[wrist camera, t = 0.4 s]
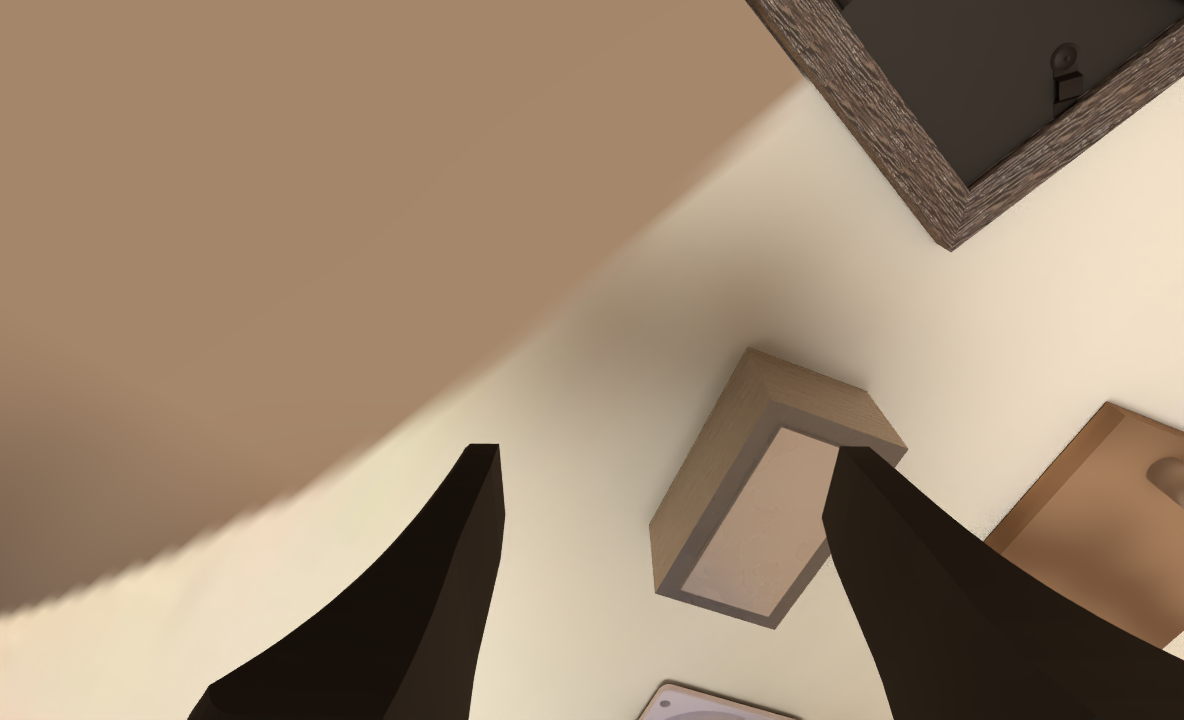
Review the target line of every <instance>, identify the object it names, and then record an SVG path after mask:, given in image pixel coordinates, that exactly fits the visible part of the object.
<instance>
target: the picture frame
mask: <svg viewBox="0 0 1184 720" xmlns="http://www.w3.org/2000/svg"><path fill="white" fill-rule="evenodd" d="M745 1H746V2H747V4H748V5H749V6H750V8H751V9H752V10H753V11H754V13H755V14H756V15H757V17H758V18H759V19H760V20H761V22H762V23H763V24H764V26H765V27H766V28H767V29H768V31H769V32H770V33H771V35H772V36H773V37H774V39H775V40H776V41H777V42H778V44H779V45H780V46H781V48H782V49H783V50H784V51H785V53H786V54H787V55H788V57H789V58H790V59H791V61H792V62H793V63H794V64H795V66H796V67H797V68H798V70H799V71H800V72H801V73H802V75H803V76H804V77H805V79H806V80H808V79H810V80H811V81H812V83H813V84H814V85H815V87H816V88H817V89H818V91H819V92H820V93H821V94H822V96H823V97H824V98H825V100H826V101H827V102H828V103H829V105H830V106H831V107H832V109H833V110H834V111H835V113H836V114H837V115H838V116H839V118H840V119H841V120H842V122H843V123H844V124H845V125H846V127H847V128H848V129H849V131H850V132H851V133H852V135H853V136H854V137H855V138H856V140H857V141H858V142H859V144H860V145H861V146H862V148H863V149H864V150H865V151H866V153H867V154H868V155H869V157H870V158H871V159H872V160H873V162H874V163H875V164H876V166H877V167H878V168H879V170H880V171H881V172H882V173H883V175H884V176H885V177H886V179H887V180H888V181H889V182H890V184H891V185H892V186H893V188H894V189H895V190H896V192H897V193H898V194H899V195H900V197H901V198H902V199H903V201H904V202H905V203H906V204H907V206H908V207H909V208H910V210H911V211H912V212H913V214H914V215H915V216H916V217H917V219H918V220H919V221H920V223H921V224H922V225H923V226H924V228H925V229H926V230H927V232H928V233H929V234H930V236H931V237H932V238H933V239H934V241H935V242H936V243H937V244H939V245H940V246H942V247H943V248H945V249H947V250H948V251H950V252H952V251H954V250H955V249H956V248H957V247H959V246H960V245H961V244H963V243H964V242H965V241H967V240H968V239H969V238H971V237H972V236H973V235H975V234H976V233H977V232H979V231H980V230H981V229H983V228H984V227H985V226H986V225H988V224H989V223H990V222H992V221H993V220H994V219H996V218H997V217H998V216H1000V215H1001V214H1002V213H1004V212H1005V211H1006V210H1008V209H1009V208H1010V207H1012V206H1013V205H1014V204H1016V203H1017V202H1018V201H1019V200H1021V199H1022V198H1023V197H1025V196H1026V195H1027V194H1029V193H1030V192H1031V191H1033V190H1034V189H1035V188H1037V187H1038V186H1039V185H1041V184H1042V183H1043V182H1045V181H1046V180H1047V179H1048V178H1050V177H1051V176H1052V175H1054V174H1055V173H1056V172H1058V171H1059V170H1060V169H1062V168H1063V167H1064V166H1066V165H1067V164H1068V163H1070V162H1071V161H1072V160H1074V159H1075V158H1076V157H1078V156H1079V155H1080V154H1081V153H1083V152H1084V151H1085V150H1087V149H1088V148H1089V147H1091V146H1092V145H1093V144H1095V143H1096V142H1097V141H1099V140H1100V139H1101V138H1103V137H1104V136H1105V135H1107V134H1108V133H1109V132H1110V131H1112V130H1113V129H1114V128H1116V127H1117V126H1118V125H1120V124H1121V123H1122V122H1124V121H1125V120H1126V119H1128V118H1129V117H1130V116H1132V115H1133V114H1134V113H1136V112H1137V111H1138V110H1140V109H1141V108H1142V107H1143V106H1145V105H1146V104H1147V103H1149V102H1150V101H1151V100H1153V99H1154V98H1155V97H1157V96H1158V95H1159V94H1161V93H1162V92H1163V91H1165V90H1166V89H1167V88H1169V87H1170V86H1171V85H1172V84H1174V83H1175V82H1176V81H1178V80H1179V79H1180V78H1182V77H1183V76H1184V0H745Z"/></svg>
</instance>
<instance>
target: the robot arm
mask: <svg viewBox="0 0 1184 720" xmlns="http://www.w3.org/2000/svg"><path fill="white" fill-rule="evenodd" d="M822 521H823V525H824V529H825V533H826V537H827V541H828V545H829V548H830V552H831V555H832V559H833V562H834V565H835V567H836V570H837V572H838V575H839V577H840V579H841V582H842V584H843V587H844V589H845V592H846V594H847V596H848V599H849V601H850V603H851V606H852V608H853V611H854V613H855V615H856V618H857V620H858V622H859V625H860V627H861V630H862V632H863V634H864V637H865V639H866V641H867V644H868V646H869V649H870V651H871V653H872V656H873V658H874V661H875V663H876V666H877V669H878V671H879V674H880V677H881V679H882V682H883V686H884V689H885V692H886V695H887V699H888V702H889V705H890V709H891V712H892V715H893V718H894V720H1184V660H1182V659H1180V658H1178V657H1176V656H1174V655H1171V654H1169V653H1168V652H1166V651H1164V650H1162V649H1160V648H1158V647H1156V646H1154V645H1152V644H1150V643H1148V642H1146V641H1144V640H1142V639H1140V638H1138V637H1136V636H1134V635H1132V634H1130V633H1128V632H1126V631H1124V630H1122V629H1120V628H1119V627H1117V626H1115V625H1113V624H1111V623H1109V622H1107V621H1106V620H1104V619H1102V618H1100V617H1098V616H1097V615H1095V614H1093V613H1092V612H1090V611H1088V610H1086V609H1085V608H1083V607H1081V606H1079V605H1078V604H1076V603H1074V602H1073V601H1071V600H1069V599H1067V598H1066V597H1064V596H1062V595H1061V594H1059V593H1058V592H1056V591H1054V590H1053V589H1051V588H1049V587H1048V586H1046V585H1045V584H1043V583H1042V582H1040V581H1039V580H1037V579H1036V578H1034V577H1033V576H1031V575H1030V574H1028V573H1027V572H1025V571H1024V570H1022V569H1021V568H1019V567H1018V566H1016V565H1015V564H1013V563H1012V562H1010V561H1009V560H1007V559H1006V558H1004V557H1003V556H1002V555H1000V554H999V553H997V552H996V551H995V550H993V549H992V548H991V547H989V546H988V545H987V544H985V543H984V542H983V541H981V540H980V539H979V538H978V537H976V536H975V535H974V534H972V533H971V532H970V531H968V530H967V529H966V528H964V527H963V526H962V525H961V524H959V523H958V522H957V521H956V520H954V519H953V518H952V517H951V516H950V515H948V514H947V513H946V512H945V511H943V510H942V509H941V508H940V507H939V506H938V505H936V504H935V503H934V502H933V501H932V500H930V499H929V498H928V497H927V496H926V495H925V494H923V493H922V492H921V491H920V490H919V489H918V488H916V487H915V486H914V485H913V484H912V483H911V482H910V481H908V480H907V479H906V478H905V477H904V476H903V475H902V474H900V473H899V472H898V471H897V470H896V469H895V468H894V467H892V466H891V465H890V464H889V463H888V462H887V461H886V460H884V459H883V458H882V457H881V456H880V455H879V454H877V453H876V452H875V451H874V450H873V449H871V448H870V447H869V446H840V448H839V451H838V455H837V459H836V463H835V467H834V471H833V475H832V479H831V482H830V486H829V490H828V494H827V498H826V502H825V506H824V509H823V513H822ZM504 523H505V506H504V494H503V483H502V472H501V461H500V449H499V444H469V445H468V446H467V447H466V448H465V450H464V451H463V453H462V454H461V456H460V457H459V459H458V460H457V462H456V463H455V465H454V466H453V468H452V469H451V471H450V472H449V474H448V475H447V476H446V478H445V479H444V481H443V482H442V483H441V485H440V486H439V488H438V489H437V490H436V491H435V493H434V494H433V495H432V497H431V498H430V499H429V500H428V502H427V503H426V504H425V506H424V507H423V508H422V510H421V511H420V512H419V513H418V514H417V516H416V517H415V518H414V519H413V520H412V522H411V523H410V524H409V525H408V526H407V527H406V528H405V530H404V531H403V532H402V533H401V534H400V535H399V536H398V538H397V539H396V540H395V541H394V542H393V543H392V544H391V545H390V546H389V547H388V549H387V550H386V551H385V552H384V553H383V554H382V555H381V556H380V557H379V558H378V559H377V560H376V561H375V562H374V563H373V564H372V565H371V566H370V567H369V568H368V569H367V570H366V571H365V572H364V573H363V574H362V575H360V576H359V577H358V578H357V579H356V580H355V581H354V582H353V583H352V584H350V585H349V586H348V587H347V588H346V589H345V590H344V591H343V592H341V593H340V594H339V595H338V596H337V597H336V598H335V599H333V600H332V601H331V602H330V603H329V604H327V605H326V606H325V607H324V608H323V609H321V610H320V611H319V612H318V613H316V614H315V615H314V616H312V617H311V618H310V619H308V620H307V621H306V622H304V623H303V624H302V625H300V626H299V627H298V628H296V629H295V630H294V631H292V632H291V633H290V634H288V635H287V636H286V637H284V638H283V639H281V640H280V641H279V642H277V643H276V644H274V645H273V646H271V647H270V648H268V649H267V650H265V651H264V652H262V653H261V654H259V655H258V656H256V657H254V658H253V659H251V660H250V661H248V662H246V663H245V664H243V665H242V666H240V667H238V668H237V669H235V670H234V671H232V672H230V673H229V674H227V675H226V676H224V677H222V678H221V679H219V680H217V681H216V682H214V683H212V684H211V685H209V686H208V688H207V690H206V691H205V693H204V694H203V696H202V697H201V699H200V700H199V702H198V703H197V705H196V706H195V707H194V709H193V710H192V712H191V714H190V715H189V717H188V719H187V720H468V719H469V711H470V704H471V696H472V689H473V681H474V675H475V670H476V664H477V659H478V654H479V650H480V646H481V641H482V637H483V633H484V628H485V624H486V620H487V616H488V611H489V607H490V603H491V598H492V594H493V590H494V585H495V581H496V577H497V572H498V568H499V563H500V559H501V550H502V541H503V532H504ZM639 720H796V719H792V718H789V717H785V716H781V715H778V714H774V713H771V712H767V711H764V710H760V709H757V708H753V707H750V706H746V705H743V704H739V703H736V702H732V701H729V700H725V699H722V698H718V697H715V696H711V695H708V694H704V693H700V692H697V691H693V690H690V689H686V688H683V687H679V686H676V685H672V684H666V685H663V686H662V687H661V688H659V690H658V691H657V693H656V694H655V696H654V697H653V699H652V700H651V702H650V703H649V705H648V706H647V708H646V709H645V711H644V712H643V714H642V715H641V717H640V718H639Z"/></svg>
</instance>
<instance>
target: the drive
mask: <svg viewBox="0 0 1184 720" xmlns="http://www.w3.org/2000/svg"><path fill="white" fill-rule="evenodd" d="M840 446H869V447H870V448H871V449H873V450H874V451H875V452H876V453H877V454H879V455H880V456H881V457H882V458H883V459H884V460H886V461H887V462H888V463H889V464H890V465H891V466H892V467H894V468H895V467H896V465H897V464H898V462H899V461H900V460H901V458H902V457H903V456H904V454H905V453H906V452H907V450H908V448H907V446H906V445H905V443H904V442H903V441H902V439H901V438H900V437H899V435H898V434H897V432H896V431H895V430H894V428H893V427H892V426H891V424H890V423H889V421H888V420H887V419H886V417H885V416H884V415H883V413H882V412H881V410H880V409H879V408H878V406H877V405H876V404H875V402H874V401H873V399H872V398H871V397H870V395H869V394H868V393H867V391H864V390H862V389H859V388H856V387H854V386H851V385H848V384H845V383H843V382H840V381H837V380H835V379H832V378H829V377H827V376H824V375H821V374H819V373H816V372H813V371H811V370H808V369H805V368H803V367H800V366H797V365H794V364H792V363H789V362H786V361H784V360H781V359H778V358H776V357H773V356H770V355H768V354H765V353H762V352H760V351H757V350H754V349H752V348H749V347H747V349H746V351H745V353H744V355H743V356H742V358H741V360H740V362H739V364H738V365H737V367H736V369H735V371H734V373H733V374H732V376H731V378H730V380H729V382H728V383H727V385H726V387H725V389H724V391H723V392H722V394H721V396H720V398H719V400H718V401H717V403H716V405H715V407H714V409H713V410H712V412H711V414H710V416H709V418H708V420H707V421H706V423H705V425H704V427H703V429H702V430H701V432H700V434H699V436H698V438H697V439H696V441H695V443H694V445H693V447H692V448H691V450H690V452H689V454H688V456H687V457H686V459H685V461H684V463H683V465H682V466H681V468H680V470H679V472H678V474H677V475H676V477H675V479H674V481H673V483H672V485H671V486H670V488H669V490H668V492H667V494H666V495H665V497H664V499H663V501H662V503H661V504H660V506H659V508H658V510H657V512H656V513H655V515H654V517H653V519H652V521H651V522H650V524H649V529H650V540H651V552H652V564H653V575H654V587H655V594H659V595H662V596H665V597H669V598H672V599H675V600H678V601H682V602H685V603H688V604H692V605H695V606H698V607H701V608H705V609H708V610H711V611H715V612H718V613H721V614H724V615H728V616H731V617H734V618H738V619H741V620H744V621H747V622H751V623H754V624H757V625H761V626H764V627H767V628H770V629H774V630H775V629H776V627H777V626H778V625H779V623H780V622H781V621H782V619H783V618H784V617H785V615H786V614H787V613H788V611H789V610H790V608H791V607H792V606H793V604H794V603H795V602H796V600H797V599H798V598H799V596H800V595H801V594H802V592H803V591H804V590H805V588H806V587H807V585H808V584H809V583H810V581H811V580H812V579H813V577H814V576H815V575H816V573H817V572H818V571H819V569H820V568H821V567H822V565H823V564H824V562H825V561H826V560H827V558H828V557H829V556H830V554H831V552H830V548H829V545H828V541H827V537H826V533H825V529H824V525H823V521H822V513H823V509H824V506H825V502H826V498H827V494H828V490H829V486H830V482H831V479H832V475H833V471H834V467H835V463H836V459H837V455H838V451H839V448H840Z"/></svg>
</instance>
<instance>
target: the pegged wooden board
mask: <svg viewBox="0 0 1184 720" xmlns="http://www.w3.org/2000/svg"><path fill="white" fill-rule="evenodd" d="M984 543H985V544H987V545H988V546H989V547H991V548H992V549H993V550H995V551H996V552H997V553H999V554H1000V555H1002V556H1003V557H1004V558H1006V559H1007V560H1009V561H1010V562H1012V563H1013V564H1015V565H1016V566H1018V567H1019V568H1021V569H1022V570H1024V571H1025V572H1027V573H1028V574H1030V575H1031V576H1033V577H1034V578H1036V579H1037V580H1039V581H1040V582H1042V583H1043V584H1045V585H1046V586H1048V587H1049V588H1051V589H1053V590H1054V591H1056V592H1058V593H1059V594H1061V595H1062V596H1064V597H1066V598H1067V599H1069V600H1071V601H1073V602H1074V603H1076V604H1078V605H1079V606H1081V607H1083V608H1085V609H1086V610H1088V611H1090V612H1092V613H1093V614H1095V615H1097V616H1098V617H1100V618H1102V619H1104V620H1106V621H1107V622H1109V623H1111V624H1113V625H1115V626H1117V627H1119V628H1120V629H1122V630H1124V631H1126V632H1128V633H1130V634H1132V635H1134V636H1136V637H1138V638H1140V639H1142V640H1144V641H1146V642H1148V643H1150V644H1152V645H1154V646H1156V647H1158V648H1160V649H1163V648H1164V647H1165V646H1166V645H1168V644H1169V643H1170V642H1171V641H1172V640H1173V639H1175V638H1176V637H1177V636H1178V635H1179V634H1180V633H1181V632H1183V631H1184V432H1181V431H1179V430H1176V429H1174V428H1171V427H1169V426H1166V425H1164V424H1161V423H1159V422H1156V421H1154V420H1151V419H1149V418H1146V417H1144V416H1141V415H1139V414H1136V413H1134V412H1131V411H1129V410H1126V409H1124V408H1121V407H1119V406H1116V405H1114V404H1111V403H1109V402H1106V403H1105V404H1104V406H1103V407H1102V408H1101V409H1100V410H1099V411H1098V412H1097V414H1096V415H1095V416H1094V417H1093V418H1092V419H1091V420H1090V422H1089V423H1088V424H1087V425H1086V426H1085V427H1084V428H1083V429H1082V431H1081V432H1080V433H1079V434H1078V435H1077V436H1076V437H1075V439H1074V440H1073V441H1072V442H1071V443H1070V444H1069V445H1068V447H1067V448H1066V449H1065V450H1064V451H1063V452H1062V453H1061V455H1060V456H1059V457H1058V458H1057V459H1056V460H1055V461H1054V463H1053V464H1052V465H1051V466H1050V467H1049V468H1048V469H1047V471H1046V472H1045V473H1044V474H1043V475H1042V476H1041V477H1040V479H1039V480H1038V481H1037V482H1036V483H1035V484H1034V485H1033V487H1032V488H1031V489H1030V490H1029V491H1028V492H1027V493H1026V494H1025V496H1024V497H1023V498H1022V499H1021V500H1020V501H1019V502H1018V504H1017V505H1016V506H1015V507H1014V508H1013V509H1012V510H1011V512H1010V513H1009V514H1008V515H1007V516H1006V517H1005V518H1004V520H1003V521H1002V522H1001V523H1000V524H999V525H998V526H997V528H996V529H995V530H994V531H993V532H992V533H991V534H990V536H989V537H988V538H987V539H986V540H985V541H984Z"/></svg>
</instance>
